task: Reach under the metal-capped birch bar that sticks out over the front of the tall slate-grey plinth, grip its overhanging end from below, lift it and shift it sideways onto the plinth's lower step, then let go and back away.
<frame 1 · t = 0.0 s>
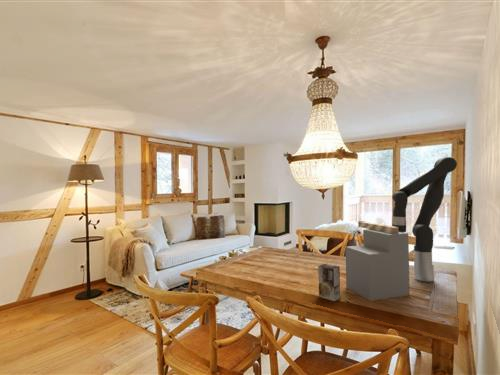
hand: (398, 250, 171), 17 cm above the table, tool pointing down, fingers open, 8 cm apart
stepped plinth: (376, 291, 150), on the table
birch bar: (376, 229, 158), point 32 cm above the table, touching stepped plinth
coffee box: (329, 297, 143), on the table
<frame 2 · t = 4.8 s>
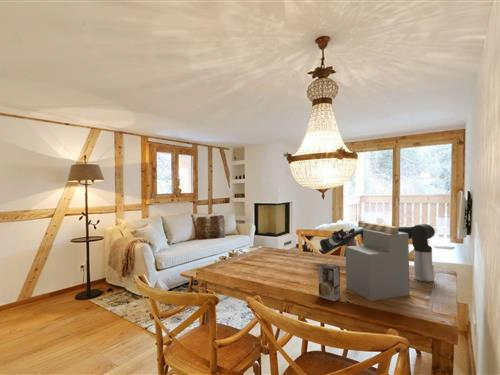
hand: (348, 229, 183), 28 cm above the table, tool pointing upward, fingers open, 8 cm apart
nothing on the table moved.
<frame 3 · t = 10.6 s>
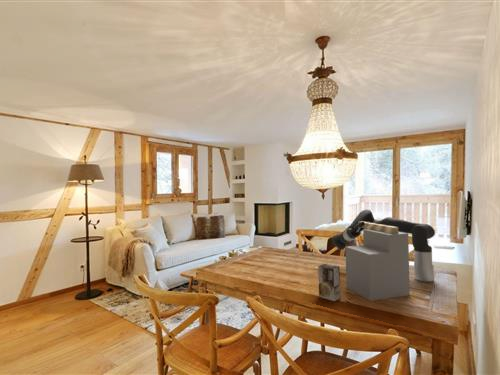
hand: (366, 222, 166), 35 cm above the table, tool pointing upward, fingers closed on birch bar, 3 cm apart
birch bar: (376, 229, 158), point 32 cm above the table, touching gripper, stepped plinth
everything else where it was.
when the fingers open (27 cm above the table, at t = 17.9 s): birch bar stays where it is, resting on stepped plinth.
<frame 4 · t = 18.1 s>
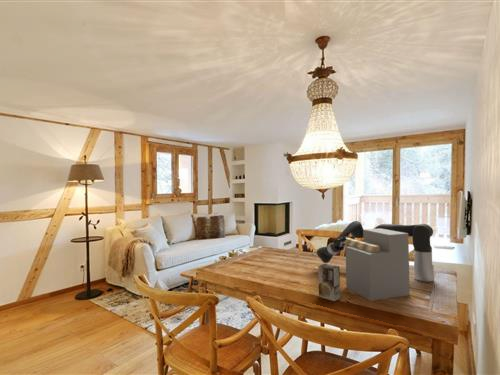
hand: (349, 237, 163), 27 cm above the table, tool pointing upward, fingers open, 5 cm apart
birch bar: (359, 247, 155), point 23 cm above the table, touching stepped plinth
everything else where it was.
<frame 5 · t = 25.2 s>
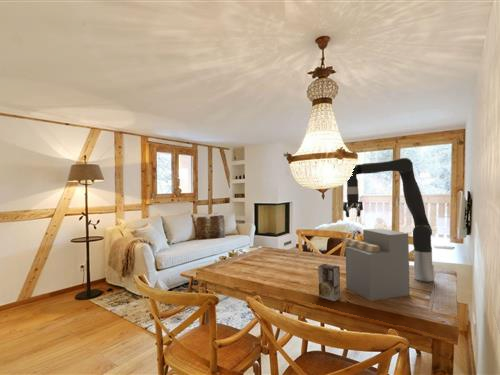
hand: (353, 216, 191), 36 cm above the table, tool pointing down, fingers open, 8 cm apart
nothing on the table moved.
at the end: birch bar inside the target area on the stepped plinth (0.1 cm from its centre), point 23.0 cm above the stepped plinth's base; birch bar tilted 0°; the gripper is holding nothing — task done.
